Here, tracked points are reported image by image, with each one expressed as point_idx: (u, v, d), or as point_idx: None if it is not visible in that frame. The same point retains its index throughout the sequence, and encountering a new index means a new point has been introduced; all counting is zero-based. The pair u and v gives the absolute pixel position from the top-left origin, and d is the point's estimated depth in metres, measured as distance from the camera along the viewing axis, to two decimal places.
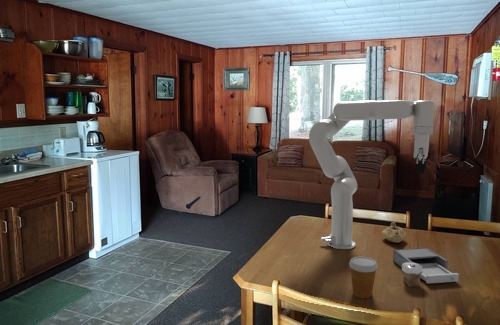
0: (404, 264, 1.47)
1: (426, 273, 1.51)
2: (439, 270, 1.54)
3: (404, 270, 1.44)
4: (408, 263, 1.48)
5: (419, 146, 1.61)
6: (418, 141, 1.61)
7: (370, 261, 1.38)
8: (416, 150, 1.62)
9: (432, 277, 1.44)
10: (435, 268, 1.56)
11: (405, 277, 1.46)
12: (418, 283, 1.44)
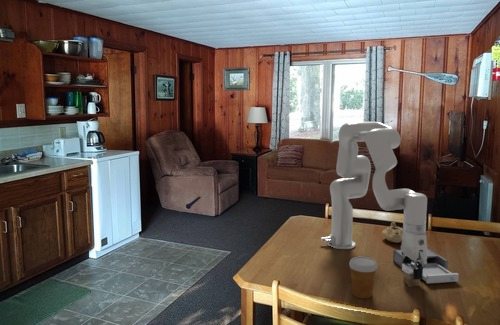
0: (404, 264, 1.47)
1: (426, 273, 1.51)
2: (439, 270, 1.54)
3: (404, 270, 1.44)
4: (408, 263, 1.47)
5: None
6: None
7: (370, 261, 1.38)
8: None
9: (432, 277, 1.44)
10: (435, 268, 1.56)
11: (405, 277, 1.46)
12: (418, 283, 1.44)
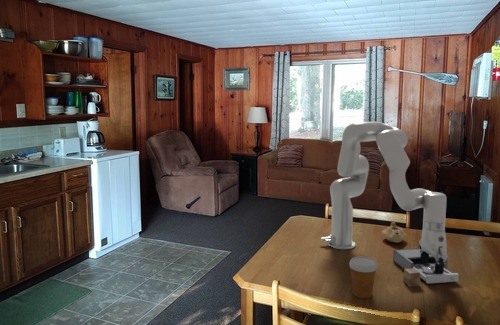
0: (423, 265, 1.54)
1: None
2: None
3: (423, 271, 1.51)
4: (427, 264, 1.55)
5: None
6: None
7: (370, 261, 1.38)
8: None
9: (432, 277, 1.44)
10: None
11: (405, 277, 1.46)
12: (418, 283, 1.44)
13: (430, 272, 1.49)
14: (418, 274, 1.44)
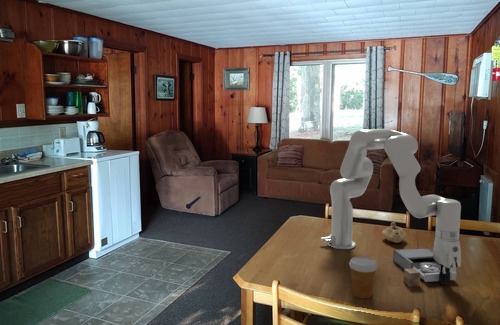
0: (421, 264, 1.55)
1: None
2: None
3: (422, 270, 1.53)
4: (425, 263, 1.56)
5: None
6: None
7: (370, 261, 1.38)
8: None
9: (430, 275, 1.46)
10: None
11: (405, 277, 1.46)
12: (418, 283, 1.44)
13: (428, 271, 1.51)
14: (418, 274, 1.44)
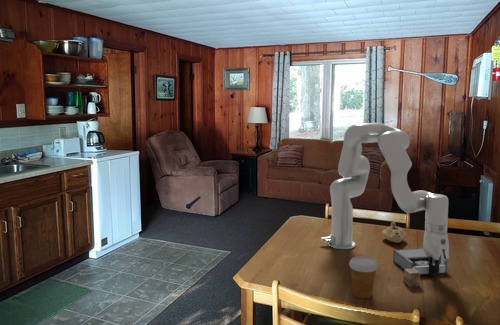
0: None
1: None
2: None
3: None
4: None
5: None
6: None
7: (370, 261, 1.38)
8: None
9: (420, 268, 1.52)
10: None
11: (405, 277, 1.46)
12: (418, 283, 1.44)
13: (419, 264, 1.57)
14: (418, 274, 1.44)
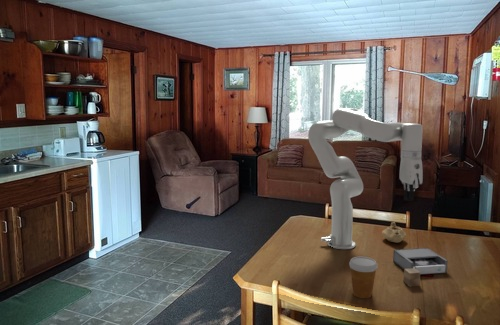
0: None
1: None
2: None
3: None
4: None
5: None
6: None
7: (370, 261, 1.38)
8: None
9: (420, 268, 1.52)
10: None
11: (405, 277, 1.46)
12: (418, 283, 1.44)
13: (419, 264, 1.57)
14: (418, 274, 1.44)
